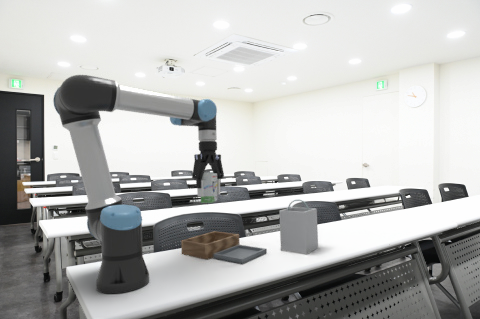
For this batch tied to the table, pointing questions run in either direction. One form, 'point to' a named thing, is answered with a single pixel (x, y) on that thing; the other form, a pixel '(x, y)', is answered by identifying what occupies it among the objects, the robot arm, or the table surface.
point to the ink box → (209, 188)
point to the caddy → (298, 230)
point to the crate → (208, 244)
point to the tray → (240, 254)
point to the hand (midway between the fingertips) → (209, 195)
